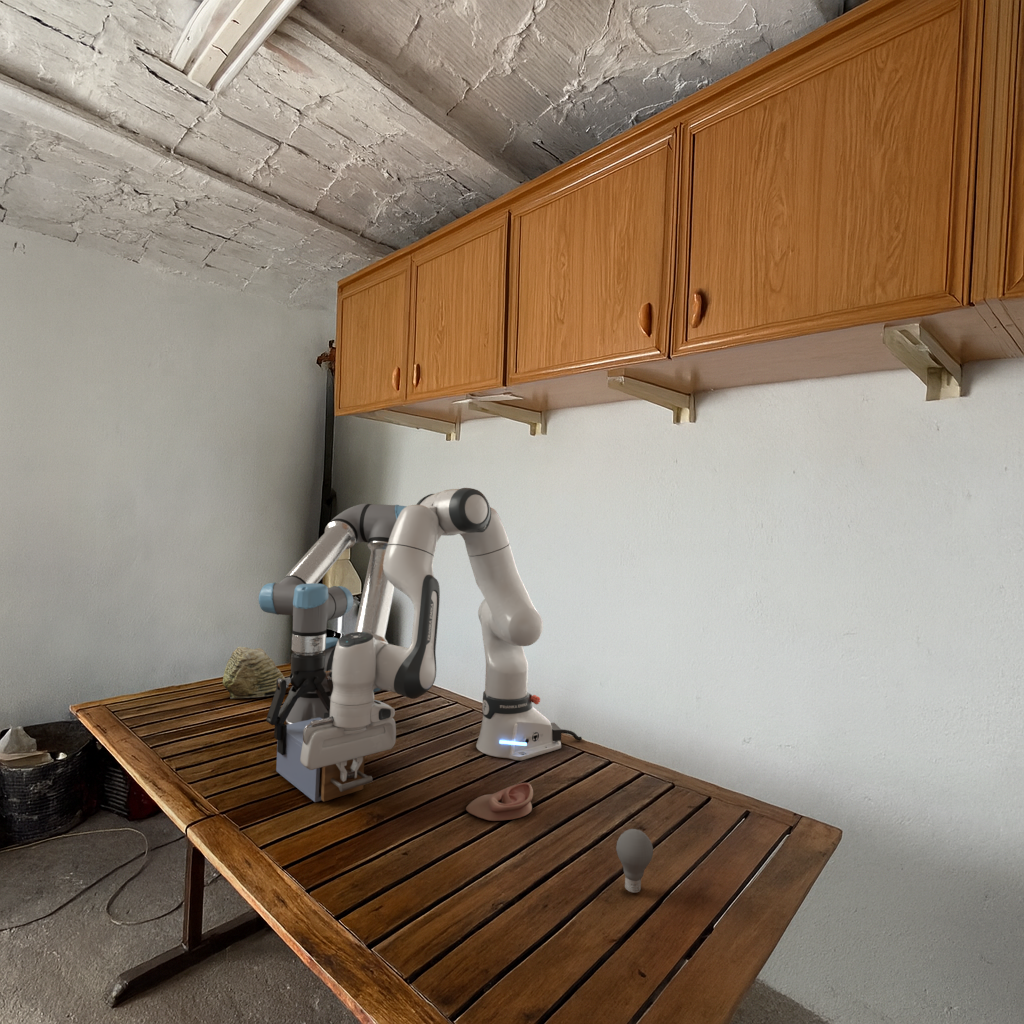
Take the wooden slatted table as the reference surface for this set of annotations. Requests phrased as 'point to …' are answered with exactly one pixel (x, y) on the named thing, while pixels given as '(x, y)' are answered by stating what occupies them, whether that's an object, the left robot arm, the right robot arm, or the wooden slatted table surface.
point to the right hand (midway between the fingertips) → (348, 779)
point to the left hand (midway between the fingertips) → (304, 747)
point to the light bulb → (634, 857)
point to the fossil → (250, 674)
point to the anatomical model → (503, 803)
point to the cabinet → (298, 762)
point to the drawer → (334, 786)
